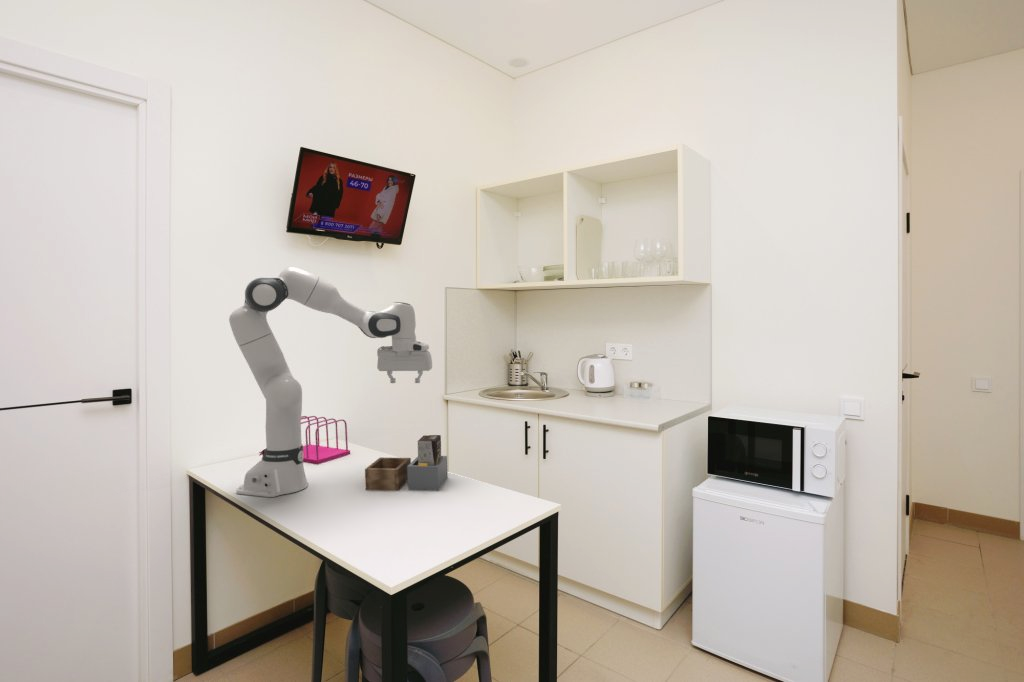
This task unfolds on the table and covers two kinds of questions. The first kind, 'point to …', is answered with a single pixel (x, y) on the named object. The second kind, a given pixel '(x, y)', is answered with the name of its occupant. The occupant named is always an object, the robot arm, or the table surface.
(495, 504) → the table surface
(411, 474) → the frame
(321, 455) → the file sorter
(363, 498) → the table surface
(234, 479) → the table surface
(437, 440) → the coffee box
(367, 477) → the open wooden box
